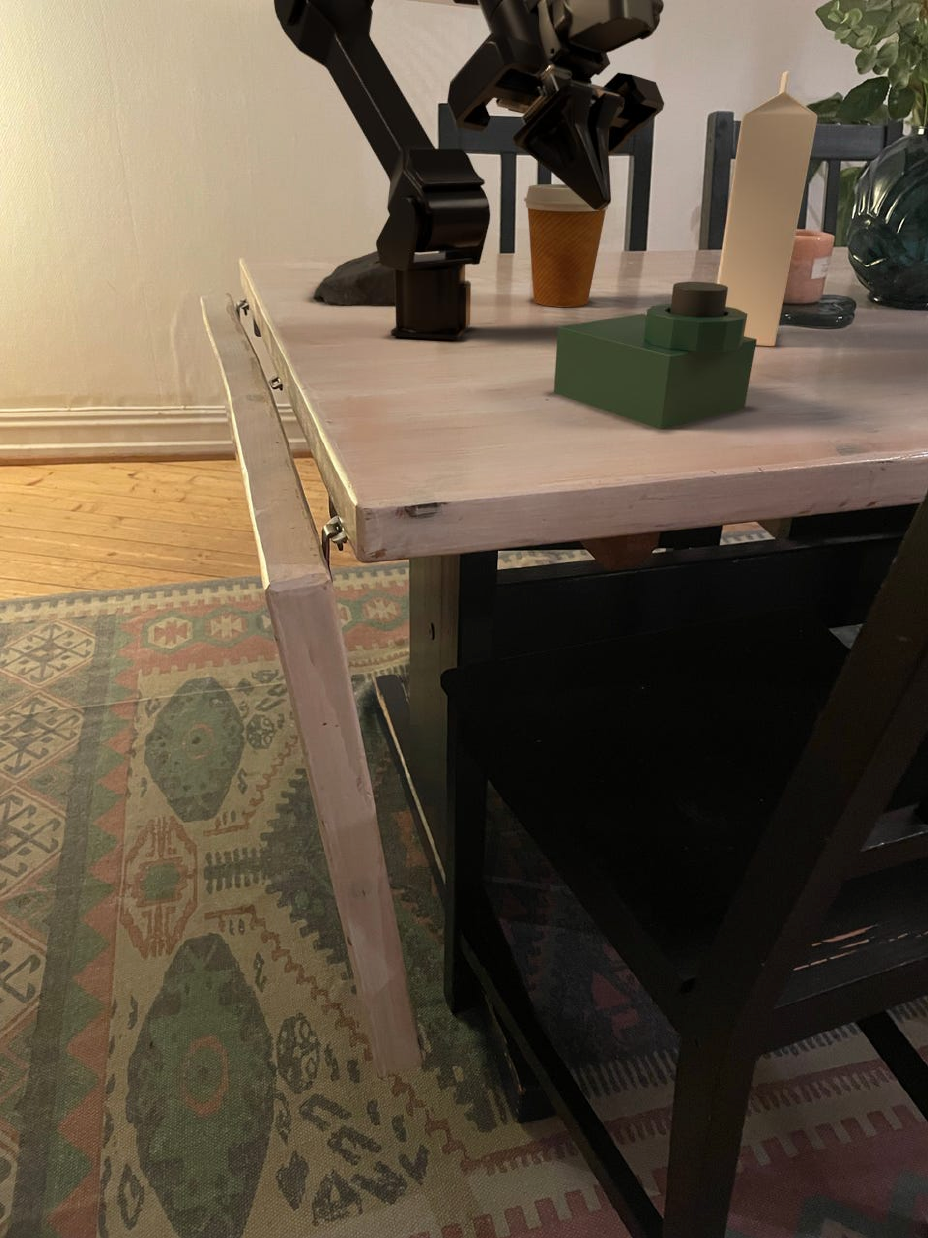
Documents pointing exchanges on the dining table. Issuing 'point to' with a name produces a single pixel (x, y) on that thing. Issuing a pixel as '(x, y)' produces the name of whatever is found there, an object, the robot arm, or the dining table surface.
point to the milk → (765, 210)
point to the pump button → (698, 299)
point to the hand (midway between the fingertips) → (603, 206)
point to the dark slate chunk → (359, 283)
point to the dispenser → (657, 365)
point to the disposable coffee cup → (562, 244)
